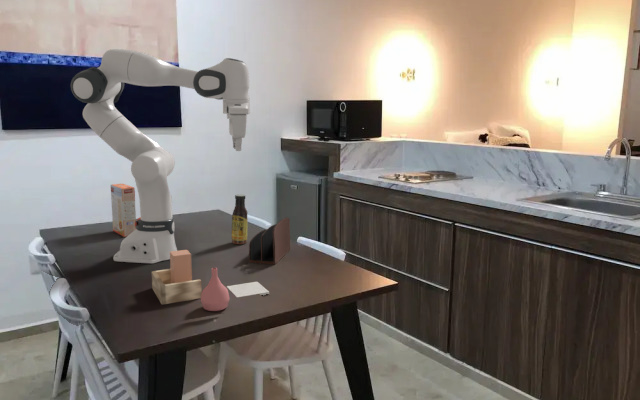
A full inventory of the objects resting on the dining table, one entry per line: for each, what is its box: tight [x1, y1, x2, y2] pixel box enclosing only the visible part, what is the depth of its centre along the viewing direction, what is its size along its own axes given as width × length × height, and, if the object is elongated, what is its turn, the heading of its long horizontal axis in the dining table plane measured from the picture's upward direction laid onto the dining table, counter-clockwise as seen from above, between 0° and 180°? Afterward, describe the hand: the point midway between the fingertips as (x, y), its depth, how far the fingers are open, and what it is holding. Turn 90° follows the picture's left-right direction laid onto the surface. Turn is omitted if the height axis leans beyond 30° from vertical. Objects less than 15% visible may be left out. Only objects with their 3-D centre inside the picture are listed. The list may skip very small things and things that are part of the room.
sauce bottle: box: [231, 193, 249, 245], centre depth 205 cm, size 6×6×20 cm
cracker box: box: [110, 183, 137, 238], centre depth 218 cm, size 14×6×21 cm, turn 39°
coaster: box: [225, 281, 270, 298], centre depth 153 cm, size 10×10×1 cm
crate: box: [150, 268, 203, 305], centre depth 149 cm, size 11×14×6 cm
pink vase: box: [200, 267, 230, 312], centre depth 138 cm, size 8×8×12 cm
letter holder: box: [248, 217, 291, 266], centre depth 188 cm, size 10×20×14 cm, turn 168°
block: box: [169, 249, 193, 284], centre depth 149 cm, size 5×5×12 cm
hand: (237, 149), depth 173 cm, fingers open, 8 cm apart
